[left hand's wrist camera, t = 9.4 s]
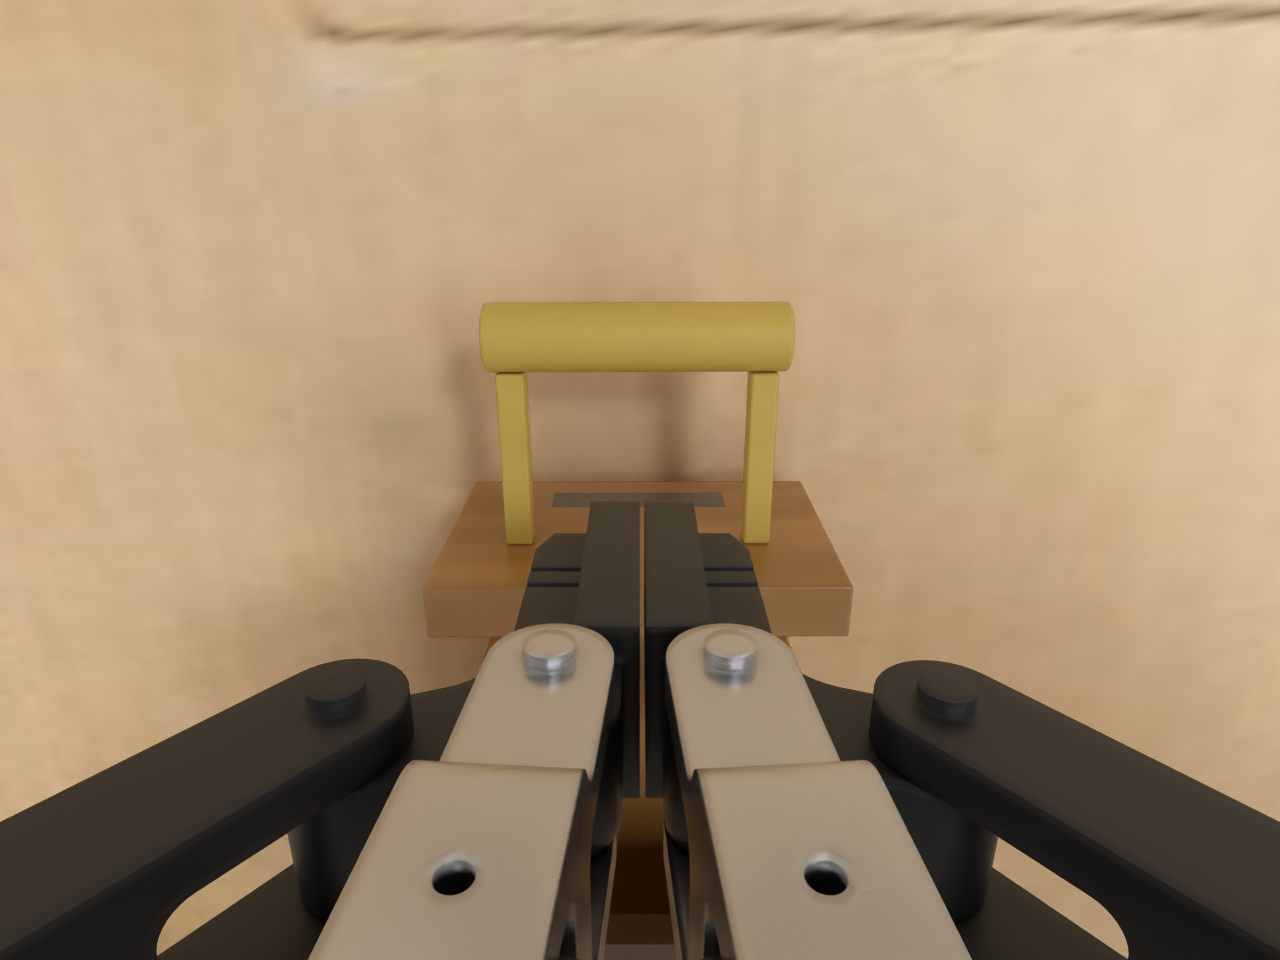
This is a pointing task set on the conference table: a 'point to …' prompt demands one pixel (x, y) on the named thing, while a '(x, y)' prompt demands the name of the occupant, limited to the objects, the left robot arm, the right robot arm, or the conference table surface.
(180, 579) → the conference table surface
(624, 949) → the cabinet
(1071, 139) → the conference table surface
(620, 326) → the drawer
